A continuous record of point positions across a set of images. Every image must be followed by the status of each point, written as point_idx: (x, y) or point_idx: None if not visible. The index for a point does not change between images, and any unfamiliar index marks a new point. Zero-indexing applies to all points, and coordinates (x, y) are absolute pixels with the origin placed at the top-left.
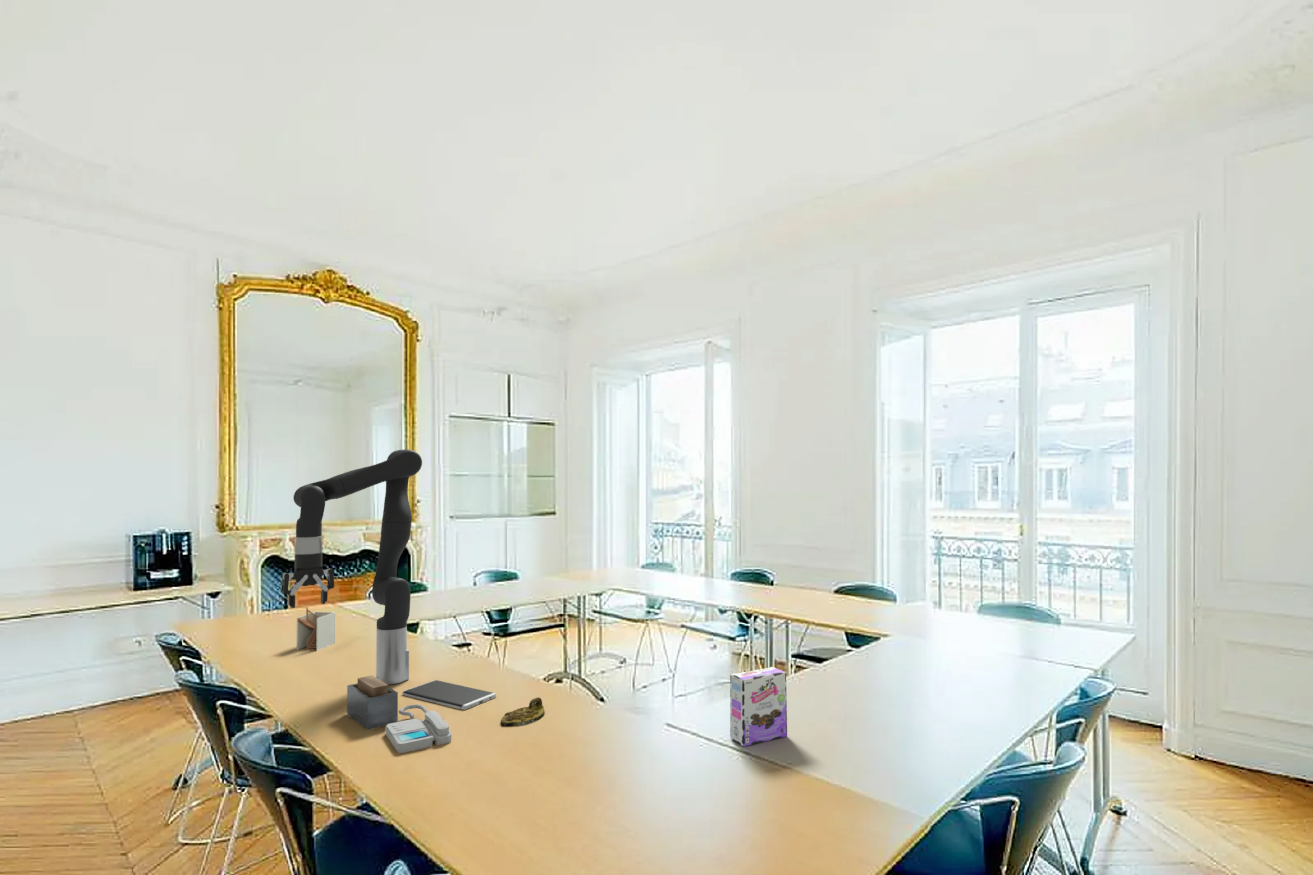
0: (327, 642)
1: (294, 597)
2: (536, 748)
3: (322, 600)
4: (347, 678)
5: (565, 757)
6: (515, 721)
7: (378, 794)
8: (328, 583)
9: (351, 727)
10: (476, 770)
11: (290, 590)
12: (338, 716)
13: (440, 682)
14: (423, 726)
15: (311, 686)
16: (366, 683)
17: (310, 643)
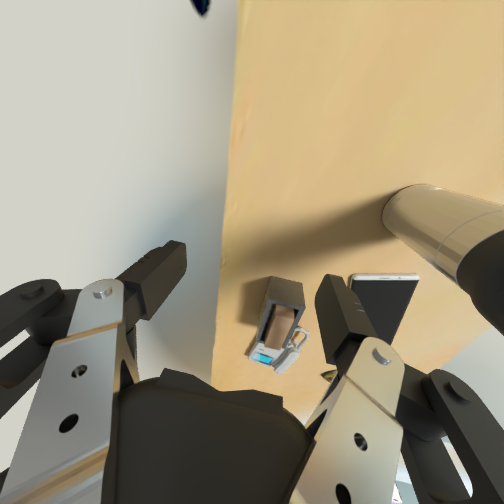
0: None
1: (152, 310)
2: (301, 395)
3: (320, 306)
4: (398, 114)
5: (300, 405)
6: (329, 381)
7: (214, 369)
8: (448, 430)
9: (253, 303)
10: (261, 386)
11: (90, 314)
12: (262, 273)
13: (407, 291)
14: (277, 356)
15: (322, 106)
16: (269, 334)
17: None
